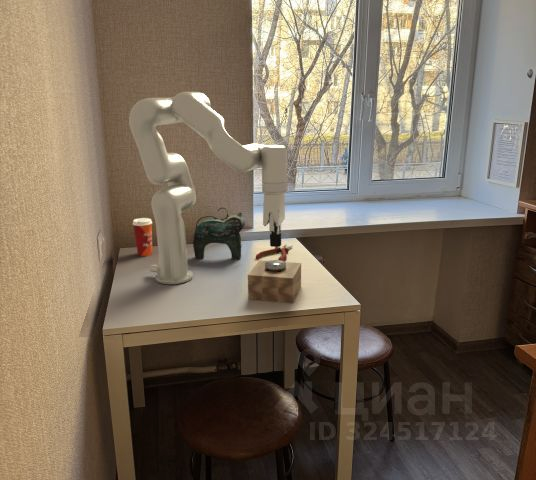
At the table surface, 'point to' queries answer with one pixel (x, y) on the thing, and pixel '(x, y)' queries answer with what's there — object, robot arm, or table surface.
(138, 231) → the paper cup
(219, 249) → the table surface
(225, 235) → the ceramic cat
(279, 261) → the grey metal rounded piece
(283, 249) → the pliers
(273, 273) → the socket block
